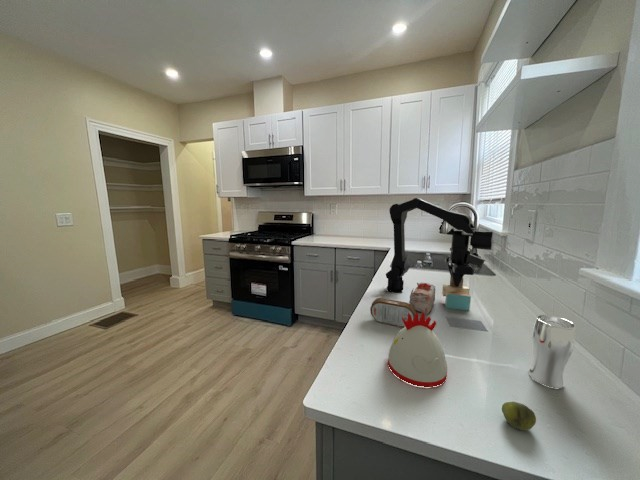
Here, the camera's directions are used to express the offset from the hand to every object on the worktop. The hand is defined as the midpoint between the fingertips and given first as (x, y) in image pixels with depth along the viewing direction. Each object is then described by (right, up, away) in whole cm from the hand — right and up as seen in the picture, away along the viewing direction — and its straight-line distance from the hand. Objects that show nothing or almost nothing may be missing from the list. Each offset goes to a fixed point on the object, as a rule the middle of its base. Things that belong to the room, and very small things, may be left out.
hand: (455, 285), depth 99 cm
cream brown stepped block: (0, -5, +1) cm, 5 cm away
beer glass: (-1, -15, -40) cm, 43 cm away
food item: (-14, -9, -2) cm, 17 cm away
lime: (-17, -17, -52) cm, 57 cm away
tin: (-30, -11, -14) cm, 35 cm away
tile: (-1, -9, -3) cm, 9 cm away
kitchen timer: (-30, -15, -36) cm, 49 cm away
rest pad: (-5, -11, -15) cm, 19 cm away
